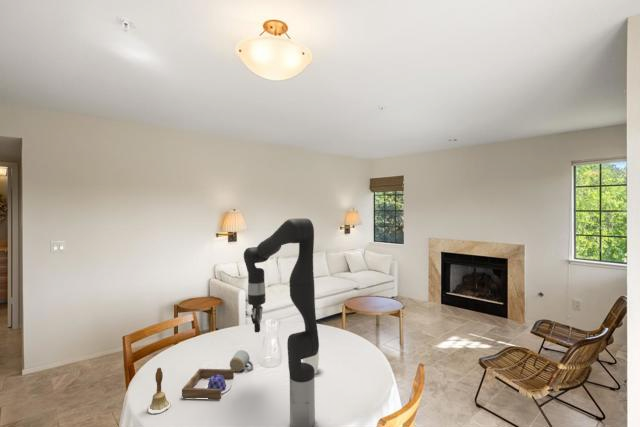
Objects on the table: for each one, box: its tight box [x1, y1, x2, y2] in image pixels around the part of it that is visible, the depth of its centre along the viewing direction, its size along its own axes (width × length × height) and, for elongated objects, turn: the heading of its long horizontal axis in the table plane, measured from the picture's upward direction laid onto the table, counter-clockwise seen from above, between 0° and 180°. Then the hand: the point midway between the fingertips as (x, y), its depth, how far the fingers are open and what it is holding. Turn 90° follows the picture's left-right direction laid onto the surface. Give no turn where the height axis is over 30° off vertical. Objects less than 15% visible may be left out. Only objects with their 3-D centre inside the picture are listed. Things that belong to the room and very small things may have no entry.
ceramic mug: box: [229, 349, 254, 373], centre depth 161 cm, size 11×8×8 cm
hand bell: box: [149, 367, 170, 410], centre depth 130 cm, size 8×8×16 cm
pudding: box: [202, 375, 232, 395], centre depth 144 cm, size 12×12×5 cm
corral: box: [181, 368, 235, 400], centre depth 144 cm, size 17×16×4 cm
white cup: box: [302, 350, 320, 375], centre depth 158 cm, size 8×8×10 cm
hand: (257, 331), depth 144 cm, fingers closed
